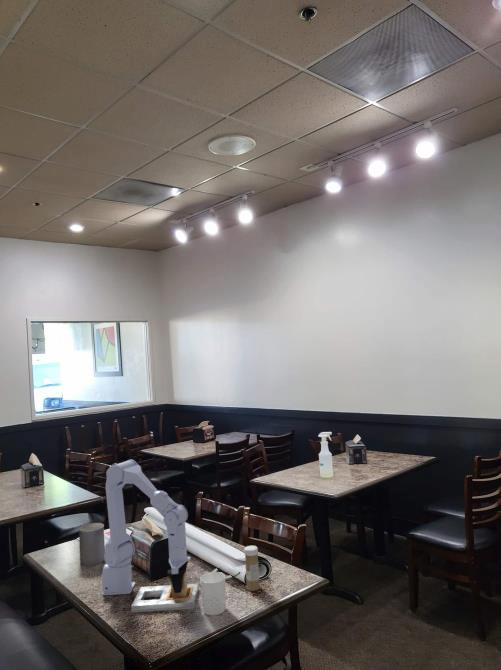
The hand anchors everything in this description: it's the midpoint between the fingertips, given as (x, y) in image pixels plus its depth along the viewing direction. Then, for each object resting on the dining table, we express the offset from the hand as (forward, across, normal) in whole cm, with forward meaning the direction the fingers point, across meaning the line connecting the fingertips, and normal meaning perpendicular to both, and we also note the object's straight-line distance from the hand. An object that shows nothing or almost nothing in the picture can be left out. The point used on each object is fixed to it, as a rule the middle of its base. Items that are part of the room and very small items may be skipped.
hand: (179, 587), depth 160 cm
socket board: (+4, 0, +5) cm, 6 cm away
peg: (+4, 0, 0) cm, 4 cm away
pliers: (+5, +15, -11) cm, 19 cm away
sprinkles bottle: (+4, +5, -24) cm, 25 cm away
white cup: (+4, -8, -12) cm, 15 cm away
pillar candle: (+4, +37, +41) cm, 55 cm away
